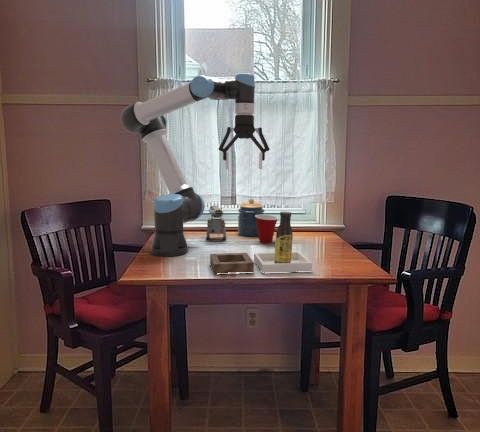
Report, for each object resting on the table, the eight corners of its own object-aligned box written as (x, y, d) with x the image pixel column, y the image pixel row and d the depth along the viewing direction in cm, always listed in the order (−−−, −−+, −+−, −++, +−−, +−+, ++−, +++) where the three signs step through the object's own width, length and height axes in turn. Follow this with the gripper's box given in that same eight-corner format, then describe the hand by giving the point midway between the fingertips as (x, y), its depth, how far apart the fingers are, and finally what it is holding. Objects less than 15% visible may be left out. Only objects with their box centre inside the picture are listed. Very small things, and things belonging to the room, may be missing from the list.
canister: (256, 238, 216) (257, 201, 213) (232, 234, 223) (233, 199, 219) (268, 233, 228) (269, 197, 224) (245, 230, 234) (246, 195, 231)
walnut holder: (214, 275, 159) (214, 264, 158) (210, 264, 173) (210, 253, 172) (253, 273, 161) (253, 262, 161) (246, 262, 175) (246, 252, 174)
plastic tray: (262, 274, 161) (262, 264, 160) (253, 261, 176) (254, 253, 176) (311, 272, 164) (312, 262, 163) (298, 260, 179) (299, 251, 179)
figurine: (226, 236, 220) (226, 205, 217) (225, 241, 209) (225, 209, 206) (207, 235, 220) (207, 204, 218) (205, 241, 209) (205, 208, 206)
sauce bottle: (279, 267, 166) (281, 214, 162) (271, 263, 171) (272, 211, 168) (294, 266, 168) (296, 213, 165) (286, 261, 174) (288, 210, 170)
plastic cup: (279, 244, 204) (280, 218, 202) (255, 244, 204) (256, 218, 201) (276, 238, 215) (276, 213, 213) (253, 239, 214) (253, 213, 212)
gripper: (213, 113, 174) (213, 169, 178) (277, 114, 178) (276, 169, 182) (211, 114, 181) (211, 168, 185) (273, 115, 185) (272, 168, 189)
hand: (243, 168), depth 183 cm, fingers open, 13 cm apart
